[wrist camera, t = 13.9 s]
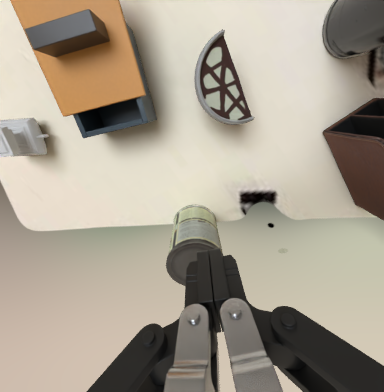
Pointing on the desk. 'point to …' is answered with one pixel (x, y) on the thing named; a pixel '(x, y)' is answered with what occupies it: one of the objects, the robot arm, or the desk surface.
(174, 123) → the desk surface
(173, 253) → the coffee can
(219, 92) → the food container
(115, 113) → the bin
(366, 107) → the letter holder
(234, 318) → the robot arm
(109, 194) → the desk surface
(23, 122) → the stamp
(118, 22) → the lid
